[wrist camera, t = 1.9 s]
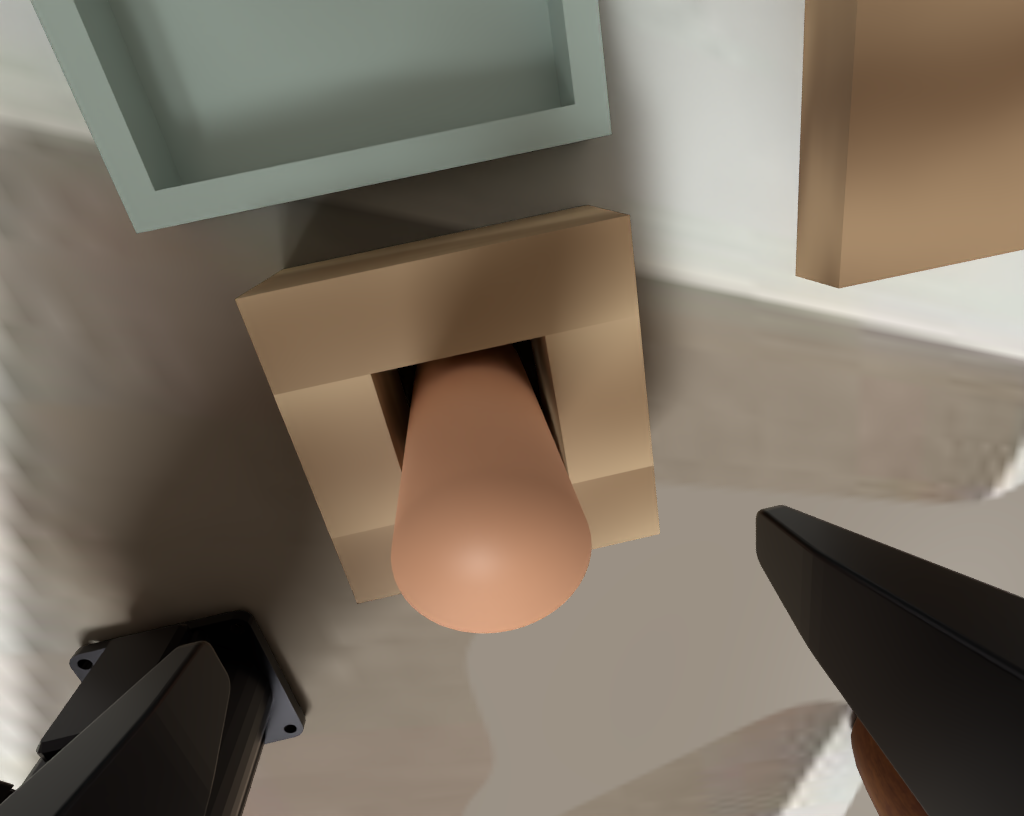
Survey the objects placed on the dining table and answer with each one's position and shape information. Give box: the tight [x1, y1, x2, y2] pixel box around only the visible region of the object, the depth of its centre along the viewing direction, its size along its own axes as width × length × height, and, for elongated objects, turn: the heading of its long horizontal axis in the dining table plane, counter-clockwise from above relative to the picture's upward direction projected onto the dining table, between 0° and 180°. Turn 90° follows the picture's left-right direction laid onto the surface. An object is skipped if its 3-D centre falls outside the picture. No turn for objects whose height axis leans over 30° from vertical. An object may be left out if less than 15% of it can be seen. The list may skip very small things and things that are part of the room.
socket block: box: [235, 205, 660, 604], centre depth 16 cm, size 9×9×4 cm
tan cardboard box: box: [796, 0, 1024, 288], centre depth 15 cm, size 8×7×2 cm
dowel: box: [391, 343, 592, 633], centre depth 14 cm, size 4×4×9 cm
